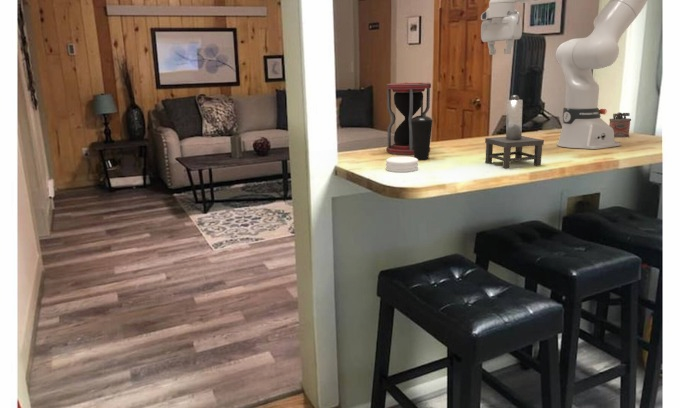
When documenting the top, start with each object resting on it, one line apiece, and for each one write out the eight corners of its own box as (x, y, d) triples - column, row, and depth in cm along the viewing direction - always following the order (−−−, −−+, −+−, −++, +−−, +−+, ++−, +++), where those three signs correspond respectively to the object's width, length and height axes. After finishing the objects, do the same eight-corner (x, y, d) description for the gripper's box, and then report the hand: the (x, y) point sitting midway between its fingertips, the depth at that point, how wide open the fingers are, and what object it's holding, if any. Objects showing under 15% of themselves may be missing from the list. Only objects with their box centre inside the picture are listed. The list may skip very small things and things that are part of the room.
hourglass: (433, 154, 188) (434, 83, 181) (388, 155, 188) (388, 84, 181) (426, 147, 203) (427, 81, 197) (384, 148, 203) (384, 83, 197)
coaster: (379, 170, 164) (379, 159, 163) (399, 165, 171) (399, 155, 170) (404, 174, 157) (404, 162, 156) (424, 169, 164) (424, 158, 163)
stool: (519, 159, 174) (520, 135, 171) (541, 165, 162) (543, 140, 160) (484, 162, 170) (485, 138, 168) (505, 169, 159) (506, 143, 157)
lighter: (609, 137, 215) (611, 113, 212) (606, 136, 218) (609, 112, 215) (630, 137, 213) (633, 112, 211) (627, 136, 217) (630, 112, 214)
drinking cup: (419, 156, 185) (419, 98, 180) (437, 158, 180) (438, 99, 175) (405, 159, 180) (405, 100, 175) (423, 161, 175) (424, 101, 170)
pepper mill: (515, 137, 167) (516, 94, 164) (524, 138, 163) (525, 94, 160) (502, 138, 166) (503, 95, 162) (512, 140, 161) (513, 95, 158)
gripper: (528, 9, 172) (525, 53, 175) (493, 15, 191) (492, 54, 194) (511, 9, 170) (508, 53, 174) (478, 15, 189) (476, 55, 193)
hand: (499, 54), depth 184 cm, fingers open, 8 cm apart
